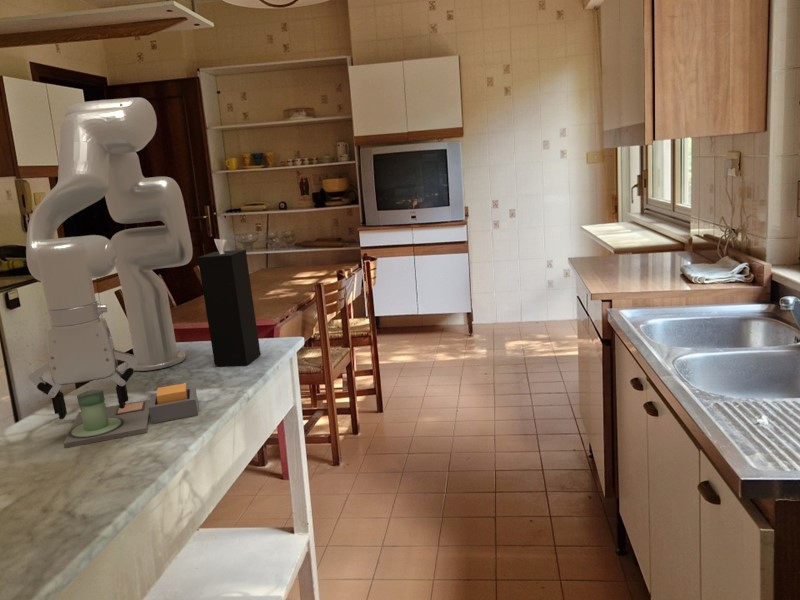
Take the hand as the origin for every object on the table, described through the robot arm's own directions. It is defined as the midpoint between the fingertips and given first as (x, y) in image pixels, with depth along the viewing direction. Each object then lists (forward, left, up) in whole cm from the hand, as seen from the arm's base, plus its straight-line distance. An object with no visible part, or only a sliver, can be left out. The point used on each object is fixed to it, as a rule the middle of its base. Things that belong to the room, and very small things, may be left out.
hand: (93, 411), depth 119 cm
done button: (-3, +13, -2) cm, 13 cm away
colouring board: (-3, +2, -4) cm, 5 cm away
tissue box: (-31, +26, -4) cm, 41 cm away
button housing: (-3, +13, -4) cm, 14 cm away
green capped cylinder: (0, 0, -3) cm, 3 cm away
